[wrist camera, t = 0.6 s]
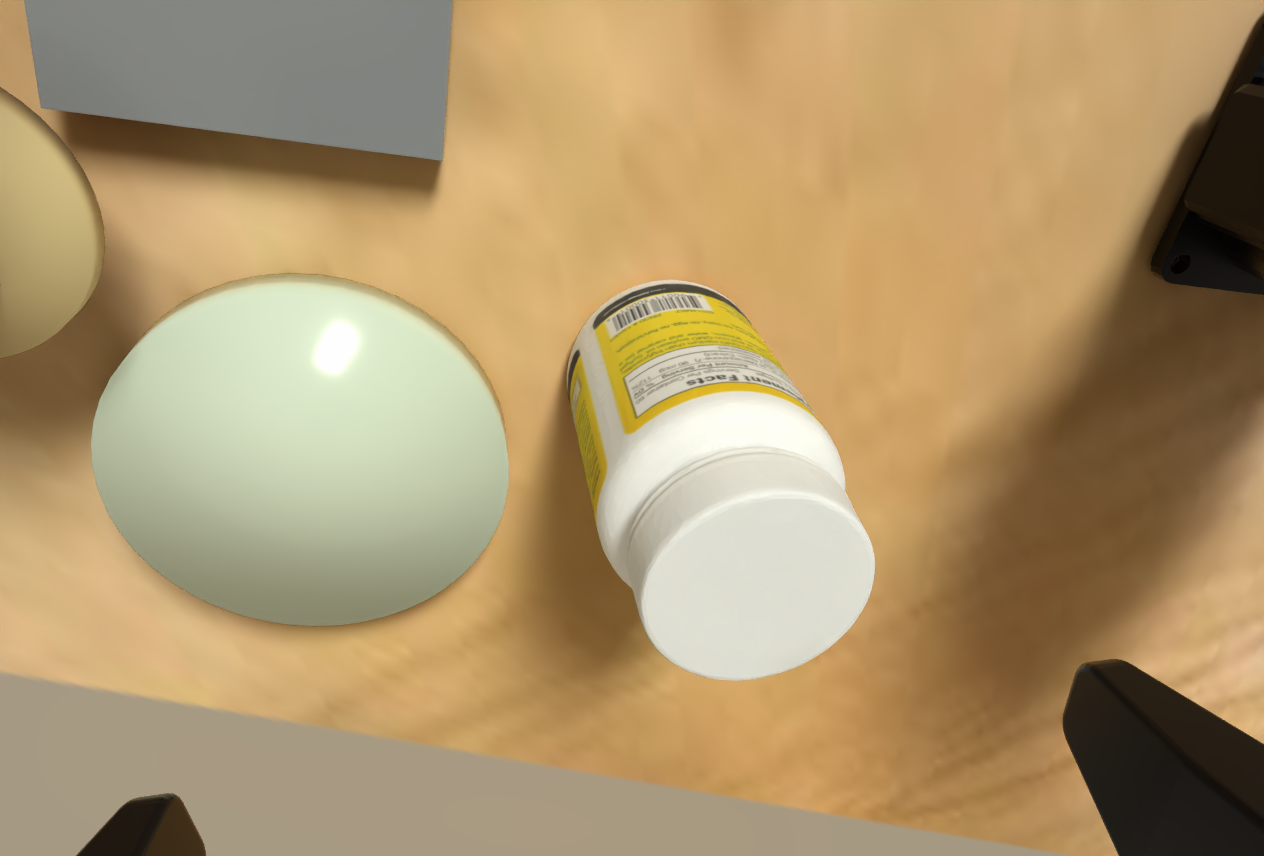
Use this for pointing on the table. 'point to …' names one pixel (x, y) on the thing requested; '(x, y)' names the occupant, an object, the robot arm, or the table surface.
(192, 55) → the slate coaster
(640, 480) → the supplement bottle
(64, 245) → the balance
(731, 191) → the table surface
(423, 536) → the sage dish
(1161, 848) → the robot arm
